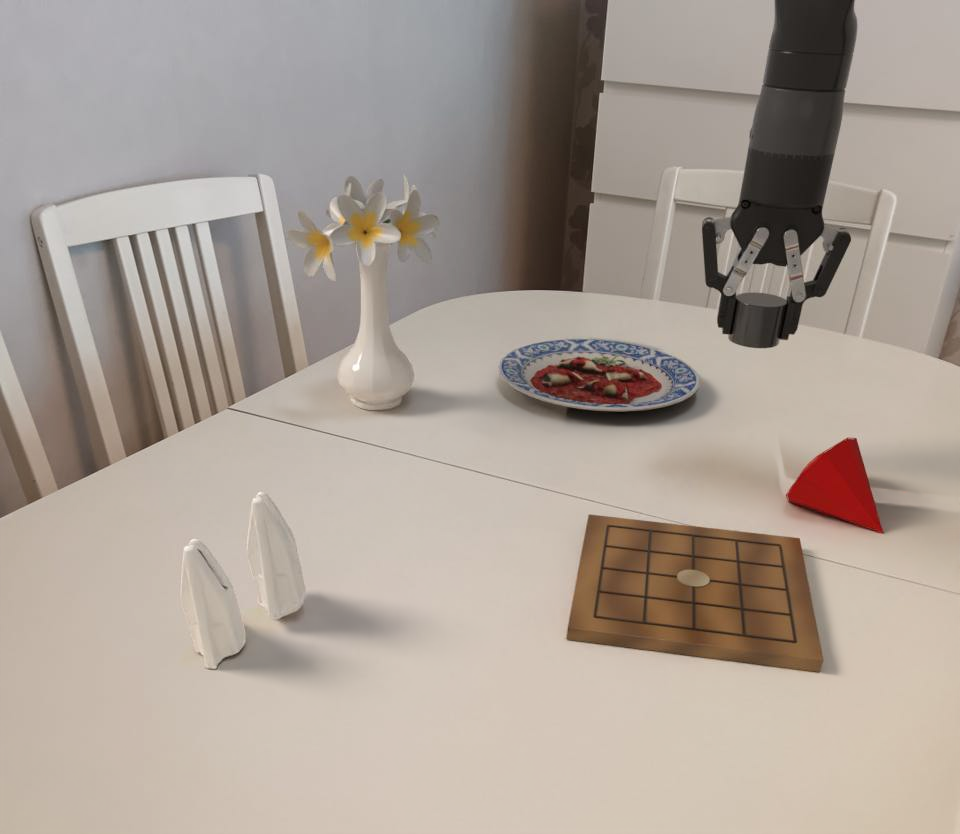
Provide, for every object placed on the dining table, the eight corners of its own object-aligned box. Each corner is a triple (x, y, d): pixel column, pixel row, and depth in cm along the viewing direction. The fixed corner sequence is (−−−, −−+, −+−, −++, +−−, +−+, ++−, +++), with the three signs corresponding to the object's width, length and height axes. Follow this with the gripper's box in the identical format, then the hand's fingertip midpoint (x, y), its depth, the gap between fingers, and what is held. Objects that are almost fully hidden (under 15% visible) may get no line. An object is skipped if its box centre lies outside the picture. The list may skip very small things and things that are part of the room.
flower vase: (285, 416, 114) (266, 185, 100) (375, 371, 127) (369, 162, 113) (377, 441, 109) (370, 202, 95) (460, 392, 122) (465, 176, 108)
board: (797, 549, 92) (800, 536, 91) (820, 672, 76) (824, 658, 75) (587, 525, 94) (588, 512, 94) (566, 639, 78) (567, 626, 77)
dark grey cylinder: (777, 335, 98) (786, 294, 96) (780, 350, 94) (789, 309, 92) (727, 330, 99) (734, 290, 97) (728, 345, 95) (735, 304, 92)
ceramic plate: (648, 444, 111) (652, 419, 109) (459, 394, 122) (460, 371, 120) (725, 380, 129) (730, 358, 128) (555, 342, 140) (557, 321, 138)
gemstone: (924, 505, 97) (855, 436, 100) (916, 497, 90) (841, 423, 93) (854, 566, 101) (788, 498, 104) (841, 563, 93) (770, 490, 96)
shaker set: (289, 588, 83) (278, 469, 77) (324, 605, 81) (316, 485, 75) (176, 651, 75) (154, 524, 69) (212, 671, 73) (193, 543, 67)
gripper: (710, 145, 84) (680, 339, 94) (881, 156, 82) (832, 354, 92) (710, 134, 90) (682, 317, 100) (869, 144, 88) (825, 330, 98)
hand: (754, 334), depth 96 cm, fingers closed on dark grey cylinder, 5 cm apart
